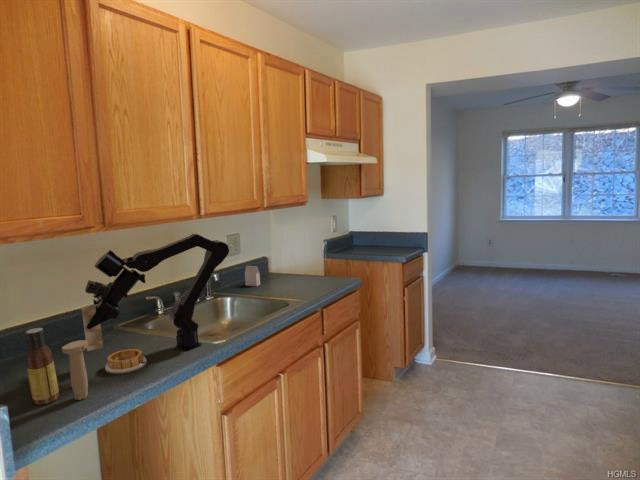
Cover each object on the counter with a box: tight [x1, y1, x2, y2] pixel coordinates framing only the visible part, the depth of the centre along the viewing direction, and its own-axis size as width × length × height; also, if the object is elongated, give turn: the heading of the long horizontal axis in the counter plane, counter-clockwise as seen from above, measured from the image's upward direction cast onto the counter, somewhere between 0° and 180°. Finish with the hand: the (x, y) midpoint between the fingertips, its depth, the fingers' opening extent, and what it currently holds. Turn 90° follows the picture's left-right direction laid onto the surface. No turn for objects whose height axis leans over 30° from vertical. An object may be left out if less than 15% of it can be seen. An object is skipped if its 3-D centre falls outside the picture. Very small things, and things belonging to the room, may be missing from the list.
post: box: [81, 304, 104, 352], centre depth 147 cm, size 4×4×13 cm
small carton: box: [244, 265, 261, 287], centre depth 247 cm, size 4×7×10 cm, turn 68°
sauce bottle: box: [25, 327, 60, 406], centre depth 126 cm, size 7×6×20 cm
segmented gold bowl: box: [104, 348, 148, 375], centre depth 148 cm, size 12×12×4 cm
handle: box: [61, 339, 89, 401], centre depth 127 cm, size 5×6×15 cm
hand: (87, 326), depth 146 cm, fingers closed on post, 4 cm apart
